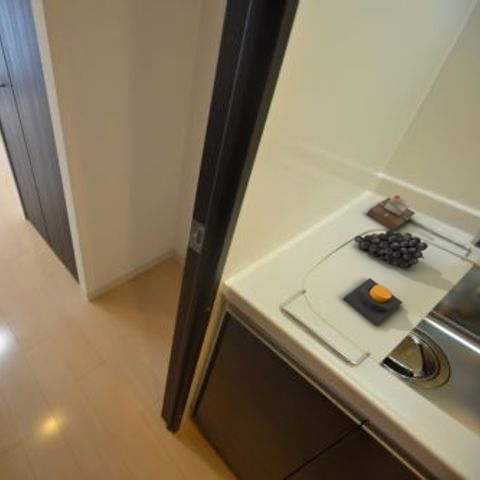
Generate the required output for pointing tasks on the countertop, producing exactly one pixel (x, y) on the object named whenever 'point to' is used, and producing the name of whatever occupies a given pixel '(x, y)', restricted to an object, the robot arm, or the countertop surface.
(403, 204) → the lock knob
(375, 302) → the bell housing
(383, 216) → the lock plate
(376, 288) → the bell button
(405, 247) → the fruit
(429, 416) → the countertop surface
